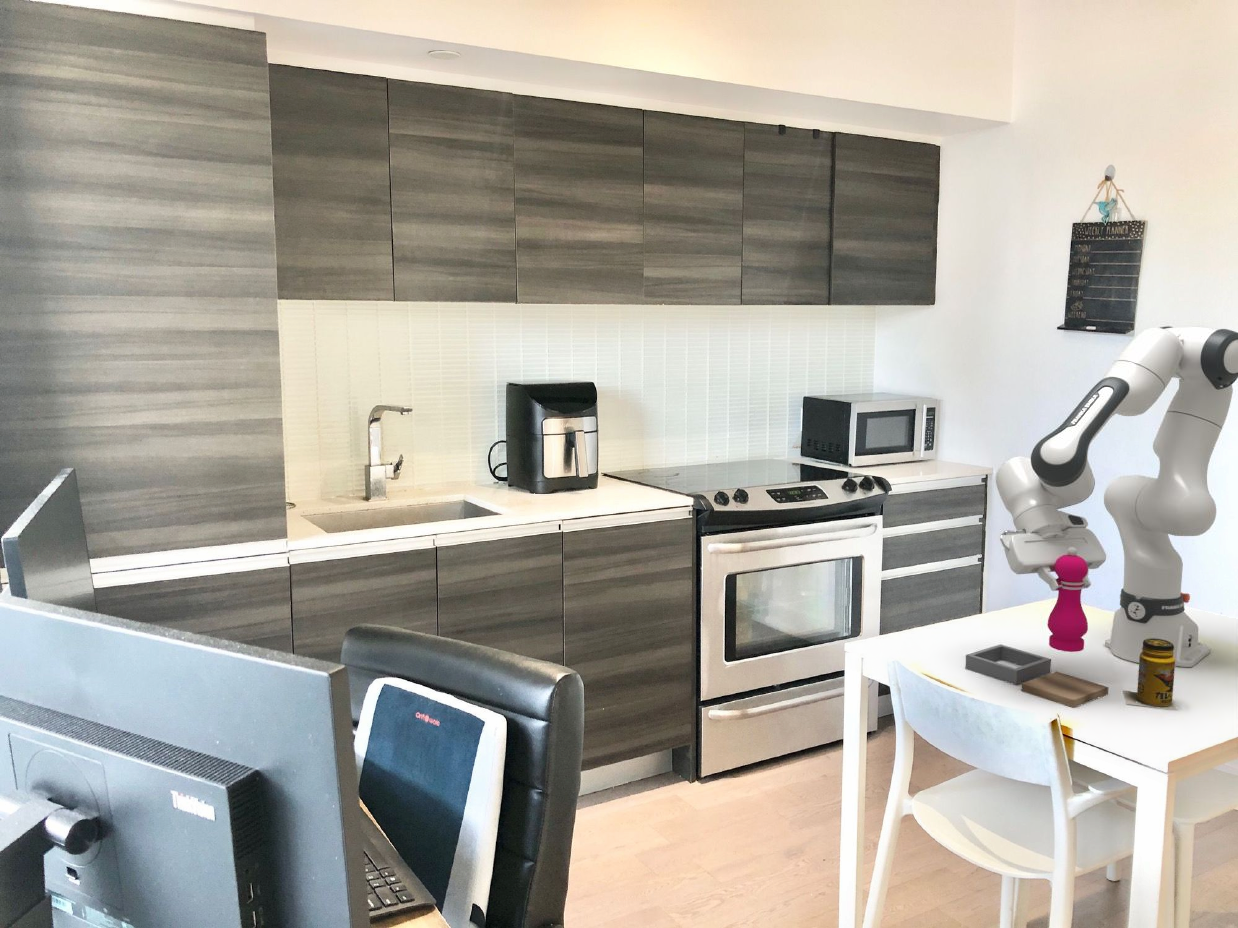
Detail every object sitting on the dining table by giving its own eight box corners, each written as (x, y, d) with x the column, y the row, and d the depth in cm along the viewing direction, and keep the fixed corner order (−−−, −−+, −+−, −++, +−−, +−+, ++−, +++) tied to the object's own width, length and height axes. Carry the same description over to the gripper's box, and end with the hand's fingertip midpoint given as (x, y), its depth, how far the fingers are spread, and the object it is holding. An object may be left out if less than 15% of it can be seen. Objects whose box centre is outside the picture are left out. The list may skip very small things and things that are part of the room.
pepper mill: (1090, 653, 191) (1097, 552, 188) (1050, 651, 193) (1056, 550, 190) (1081, 642, 198) (1087, 544, 196) (1042, 640, 200) (1048, 542, 197)
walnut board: (1056, 678, 205) (1056, 671, 204) (1107, 694, 196) (1108, 686, 195) (1021, 690, 198) (1021, 683, 198) (1073, 707, 189) (1073, 700, 189)
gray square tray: (999, 657, 218) (1000, 644, 217) (1050, 672, 208) (1051, 658, 207) (965, 668, 211) (966, 654, 210) (1016, 684, 201) (1016, 670, 201)
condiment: (1176, 710, 187) (1181, 649, 186) (1126, 704, 190) (1130, 644, 189) (1171, 697, 194) (1175, 637, 192) (1122, 691, 197) (1126, 633, 195)
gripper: (1004, 522, 196) (1034, 583, 188) (1092, 517, 201) (1124, 576, 193) (989, 540, 201) (1017, 599, 193) (1075, 534, 206) (1106, 592, 198)
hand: (1072, 588), depth 193 cm, fingers closed on pepper mill, 5 cm apart
